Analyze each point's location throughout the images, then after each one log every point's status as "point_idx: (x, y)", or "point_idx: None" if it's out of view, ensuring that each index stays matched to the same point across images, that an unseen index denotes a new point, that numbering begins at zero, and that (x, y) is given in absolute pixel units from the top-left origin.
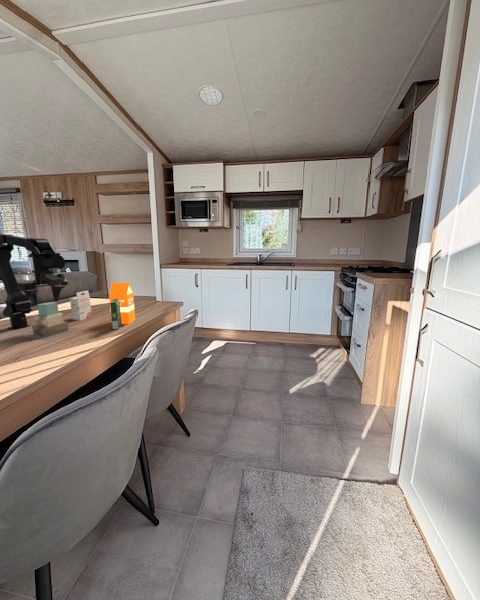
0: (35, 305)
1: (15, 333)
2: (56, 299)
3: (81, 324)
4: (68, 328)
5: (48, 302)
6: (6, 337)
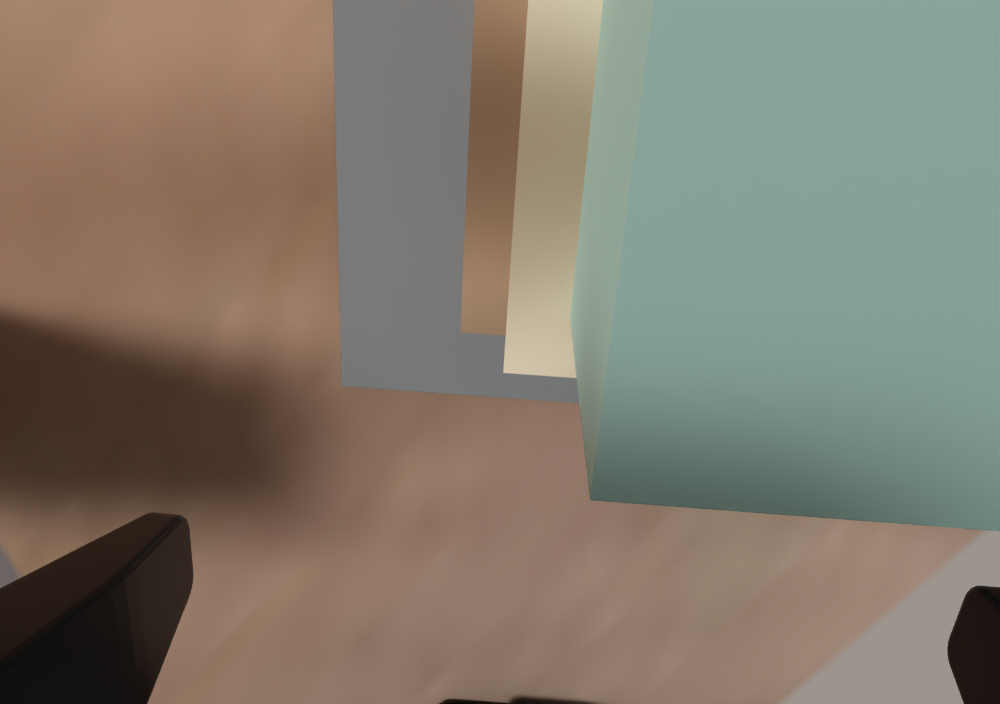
0: (993, 608)
1: (754, 610)
2: (149, 563)
3: (51, 43)
4: (384, 4)
5: (682, 430)
6: (931, 563)
